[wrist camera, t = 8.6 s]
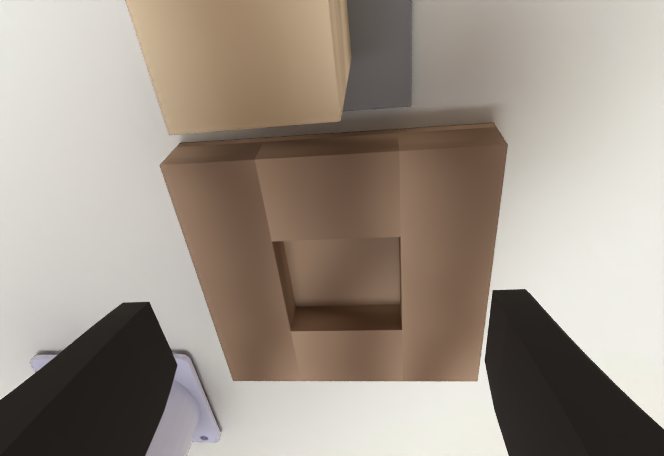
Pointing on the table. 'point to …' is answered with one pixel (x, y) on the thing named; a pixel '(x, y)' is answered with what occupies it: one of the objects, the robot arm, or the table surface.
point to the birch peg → (244, 61)
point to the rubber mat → (379, 54)
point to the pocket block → (344, 249)
